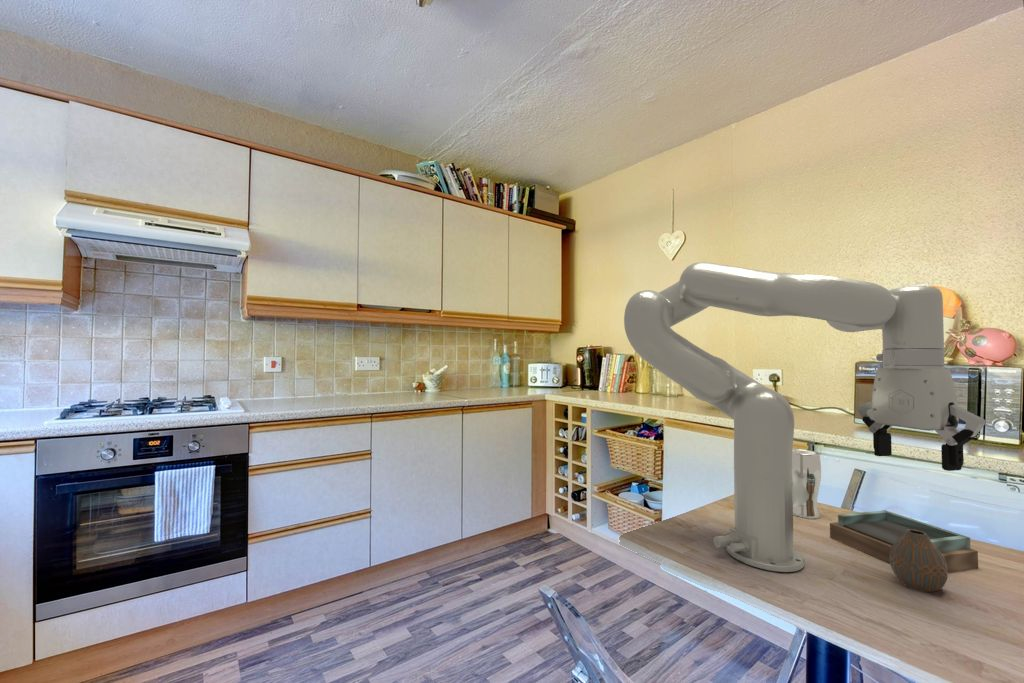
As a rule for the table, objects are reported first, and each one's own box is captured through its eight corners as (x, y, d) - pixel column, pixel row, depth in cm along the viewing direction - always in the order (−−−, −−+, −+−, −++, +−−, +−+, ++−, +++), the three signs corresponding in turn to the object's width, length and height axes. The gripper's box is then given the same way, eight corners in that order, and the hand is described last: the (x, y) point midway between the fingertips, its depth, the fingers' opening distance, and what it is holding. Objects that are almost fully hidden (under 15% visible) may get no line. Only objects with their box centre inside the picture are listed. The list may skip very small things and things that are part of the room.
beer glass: (810, 509, 103) (809, 449, 104) (828, 520, 96) (827, 455, 97) (780, 508, 104) (780, 448, 105) (797, 518, 97) (796, 454, 98)
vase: (916, 574, 72) (915, 523, 72) (961, 597, 65) (959, 540, 66) (878, 575, 72) (877, 523, 72) (919, 598, 65) (918, 541, 65)
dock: (921, 576, 71) (920, 547, 72) (830, 537, 87) (829, 513, 87) (978, 568, 75) (977, 539, 75) (880, 531, 90) (880, 508, 90)
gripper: (843, 359, 78) (845, 451, 77) (963, 360, 61) (966, 478, 60) (873, 360, 79) (875, 450, 79) (998, 361, 63) (1002, 475, 62)
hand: (915, 462), depth 69 cm, fingers open, 9 cm apart
